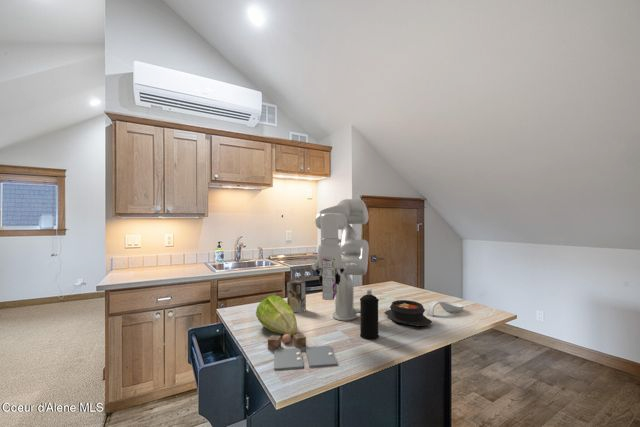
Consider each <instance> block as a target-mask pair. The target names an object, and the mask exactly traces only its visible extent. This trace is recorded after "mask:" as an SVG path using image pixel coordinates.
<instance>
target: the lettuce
mask: <svg viewBox="0 0 640 427" xmlns="http://www.w3.org/2000/svg"><path fill="white" fill-rule="evenodd" d="M255 316H256V318H257V320H258V321H259V323H260V324H261V326H262V327H263V328H265V329H266V330H269V331H271V332H273V333H276V334H280V335H283V336H284V335H285V334H289V335H290V336H293V335H296V333H297V331H298V330H297V329H298V322H297V318H296V315H295V312H293V311H292V309H291V307H290V306H289V305H288V303H287V301H286V300H284V299H283V298H282V297H281V296H279V295H277V294H271V295H268V296H267V297H266V298H265V297H264V299H262V300H261V301H260V303H259V304H258V306H257V307H256V310H255Z"/></svg>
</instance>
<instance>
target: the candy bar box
mask: <svg viewBox="0 0 640 427" xmlns="http://www.w3.org/2000/svg"><path fill="white" fill-rule="evenodd" d="M336 274H337V271H336V269H335V259H323V260H322V285H321V287H322V288H321V289H322V293H321V294H322V300H326V301H329V300H330V301H334V299H335V295H336V293H337V284H336Z"/></svg>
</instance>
